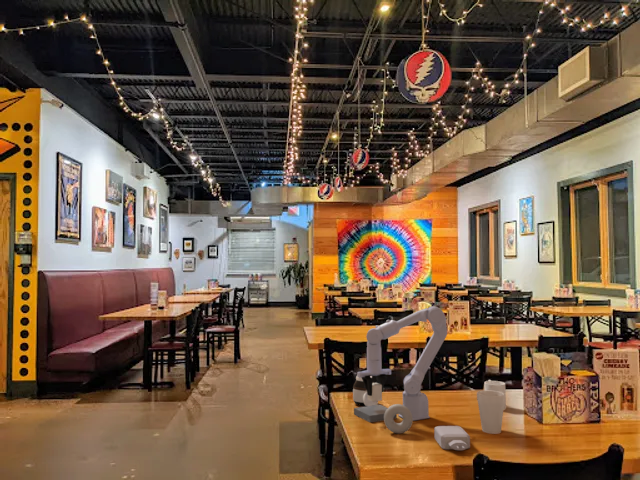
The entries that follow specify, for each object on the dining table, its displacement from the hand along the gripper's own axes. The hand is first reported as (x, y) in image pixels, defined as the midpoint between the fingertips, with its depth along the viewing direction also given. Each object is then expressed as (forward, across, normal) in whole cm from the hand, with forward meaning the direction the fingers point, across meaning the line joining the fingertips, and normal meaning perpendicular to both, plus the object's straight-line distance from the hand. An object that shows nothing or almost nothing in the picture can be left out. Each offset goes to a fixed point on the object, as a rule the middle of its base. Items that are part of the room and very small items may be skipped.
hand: (374, 394), depth 195 cm
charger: (+9, -4, +41) cm, 42 cm away
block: (+2, 0, 0) cm, 2 cm away
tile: (+8, 0, 0) cm, 8 cm away
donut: (+9, +4, +21) cm, 23 cm away
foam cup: (+8, -27, +34) cm, 44 cm away
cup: (+8, -52, +10) cm, 54 cm away
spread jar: (+9, -6, -16) cm, 19 cm away
